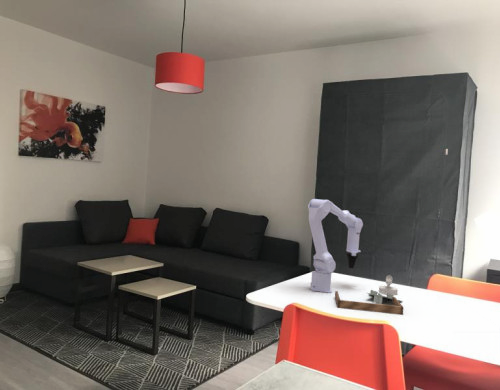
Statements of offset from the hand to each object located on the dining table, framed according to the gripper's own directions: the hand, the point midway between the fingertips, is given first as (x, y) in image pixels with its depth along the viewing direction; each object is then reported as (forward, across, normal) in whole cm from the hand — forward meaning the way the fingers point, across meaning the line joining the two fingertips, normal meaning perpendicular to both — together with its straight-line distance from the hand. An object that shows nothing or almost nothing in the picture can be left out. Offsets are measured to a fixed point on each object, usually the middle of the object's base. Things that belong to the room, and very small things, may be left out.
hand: (351, 268), depth 210 cm
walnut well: (+10, -32, -4) cm, 34 cm away
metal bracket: (+11, -20, -12) cm, 26 cm away
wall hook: (+10, -4, -18) cm, 21 cm away
